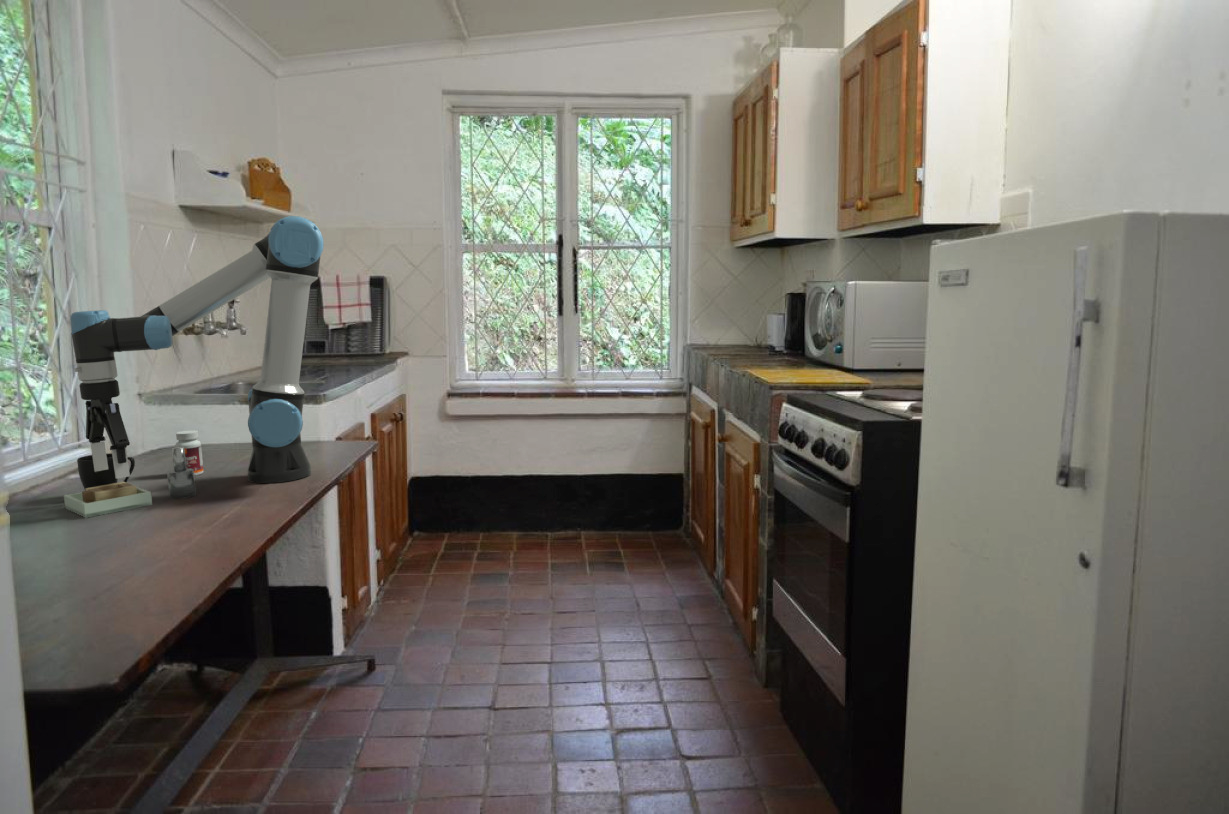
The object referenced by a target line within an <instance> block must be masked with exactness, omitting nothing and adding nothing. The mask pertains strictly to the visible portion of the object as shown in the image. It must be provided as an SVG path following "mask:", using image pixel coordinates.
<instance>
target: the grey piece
mask: <svg viewBox="0 0 1229 814" xmlns="http://www.w3.org/2000/svg"><path fill="white" fill-rule="evenodd" d="M171 453H172V454H171V455H172V462H173V469H171V470H168V471H166V473H167V476H166V477H167V484H168V494H169V499H175V500H177V499H179V500H180V499H185V498H186V499H187V498H192V497H194V496H196V495H197V489H196V481H195V476H194V469H192V468H186V460H185V451H184V447H172V448H171Z"/></svg>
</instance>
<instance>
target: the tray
mask: <svg viewBox="0 0 1229 814" xmlns="http://www.w3.org/2000/svg"><path fill="white" fill-rule="evenodd" d="M136 487H137V494H134V495H128V496H123V497H118V498H112V499H107V500H102V501H96V502H91V503H85V502H83V497H82V492H83V491H81V492H76V493H70V494H65V495H63V500H64V507H65V509H66V510H68V511H70V510H71V511H70V512H72V511H73V513H74V512H75V513H74V514H76V513H77V515H78V514H79V515H78V516H80V515H81V517H82V516H83V517H82V518H84V517H85V519H88V517H89V518H92V517H93V516H94V517H98V516H97V515H99V516H104V515H109V514H113V513H119V512H123V511H128V510H133V509H138V508H143V507H148V506H153V498H152V491H149V490H147V489H144V488H142V487H138V486H136ZM108 513H109V514H108ZM103 514H104V515H103ZM94 517H93V518H94Z"/></svg>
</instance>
